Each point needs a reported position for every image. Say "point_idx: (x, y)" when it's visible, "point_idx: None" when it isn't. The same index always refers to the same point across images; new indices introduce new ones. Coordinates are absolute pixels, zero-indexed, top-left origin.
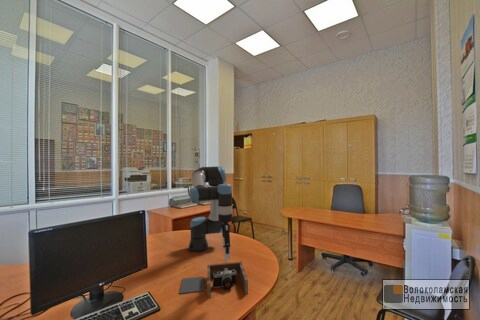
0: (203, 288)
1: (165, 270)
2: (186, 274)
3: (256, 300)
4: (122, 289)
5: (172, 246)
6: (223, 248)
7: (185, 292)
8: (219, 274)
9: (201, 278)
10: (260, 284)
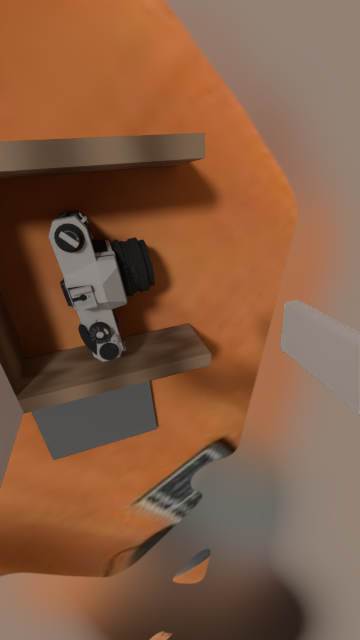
0: None
1: None
2: None
3: (235, 106)
4: (123, 554)
5: None
6: (16, 417)
7: (154, 413)
8: (116, 326)
9: None
10: (76, 20)
